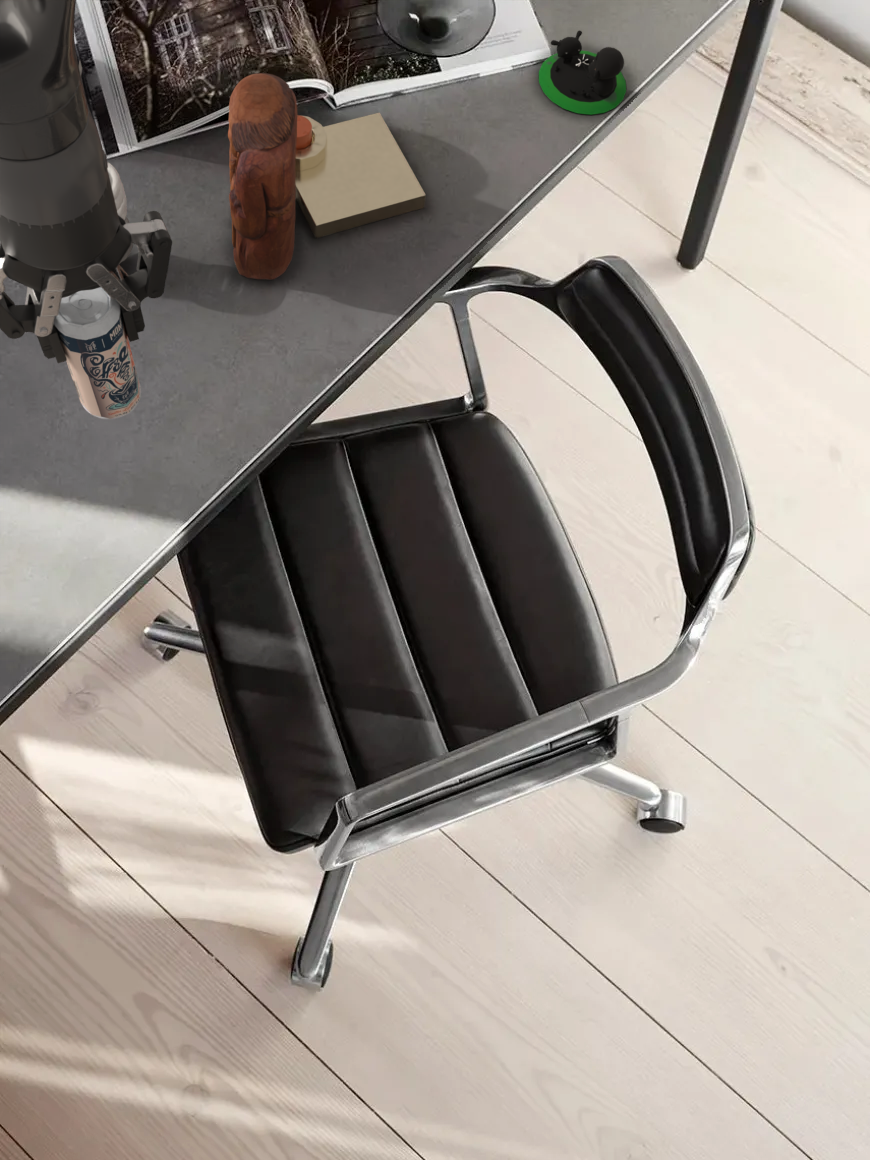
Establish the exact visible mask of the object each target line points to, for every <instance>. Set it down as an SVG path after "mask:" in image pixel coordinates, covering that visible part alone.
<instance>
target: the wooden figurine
mask: <svg viewBox="0 0 870 1160" xmlns="http://www.w3.org/2000/svg"><path fill="white" fill-rule="evenodd" d="M297 102H298V101H297V97H296V94H295V92H294V91H293V89H292V88H291V87H290V85H289V84H288V83H287V81H286V80H284V79H282V78H281V77H280V76H277V75H275V74H273V73H266V72H255V73H251V74H248V75H247V76H245V77H244V78H242V79H241V80H240V81H239V82H238V83H237V84H236V85H235V87H234V88H233V90H232V92H231V94H230V97H229V104H228V131H227V138H228V140H229V164H228V167H229V184H230V188H229V189H230V192H229V193H228V200H229V208H230V218H231V243H232V247H233V249H232V250H233V252H232V253H233V261H234V264H235V267H236V270H237V271H238V274H239V275H240V276H243V277H245V278H247V279H255V280H275V279H278V278H279V277H280V276H282V275H283V274H284V273H285V272H286V271H287V269H288V267H289V265H290V264H291V261H292V260H293V255H294V250H295V237H296V232H295V231H296V198H295V194H296V180H295V178H296V176H295V165H296V143H297V115H298V103H297Z"/></svg>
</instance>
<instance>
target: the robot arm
mask: <svg viewBox="0 0 870 1160" xmlns="http://www.w3.org/2000/svg"><path fill="white" fill-rule="evenodd" d="M76 4H77V0H0V330H1V332H3V334H5V335H6V336H7V338H9V339H12V340H15V339H20V338H22V337H23V336H24V335H25V333H32V334H34V335H35V336H36V337H37V341H38V343H39V346H40V348H41V351H42V354H43V356H44V357H45V358H46V359H47V360H50V359H54V358H55V360H56V363H57V364H60V363H64V362H66V361H67V359H66V356H65V353H64V351H63V348H62V345H61V342H60V339H59V336H58V333H57V331H56V328H55V325H54V319H55V316H58V314H59V309H60V304H61V299H62V298H64V297H68V296H70V295H73V294H75V293H77V292H79V291H84V290H93V289H96V288H100V287H101V288H102V289H103V290H104V291H105V292H106V293H107V294H108V295H109V296H110V297H111V298H112V299H113V300H115V299H116V300H117V301H118V302H119V305H120V311H121V314H122V318H123V322H124V326H125V330H126V334H127V337H128V340H129V343H132V342H135V341H138V340H140V337H139V333H141V332H144V331H145V327H146V325H145V320H144V315H143V311H142V307H141V305H142V303H143V301H144V300H145V299H146V298H149V299H158V298H161V297H162V296H163V295H164V292H165V288H166V282H167V276H168V270H169V264H170V259H171V251H172V246H173V240H172V238H171V235H170V233H169V231H168V228H167V226H166V224H165V221H164V219H163V217H162V215H161V212H159V211H157V210H151V211H148V212H147V213H145V214H144V216H143V218H142V221H139V222H138V221H137V222H129V223H126V222H125V221H124V219H123V218H121V217H120V216H119V215H118V213H117V208H116V204H115V200H114V195H113V191H112V187H111V182H110V178H109V174H108V170H107V168H108V163H109V161H108V158H107V154H106V153H105V150H104V149H103V148H104V147H103V143H102V140H101V137H100V133H99V130H98V127H97V125H96V122H95V120H94V117H93V115H92V113H91V110H90V108H89V104H88V101H87V96H86V91H85V87H84V83H83V79H82V73H83V67H82V63H81V62H82V61H81V60H79V62H78V57H77V51H76V43H75V20H76V19H75V17H76V16H75V15H76V6H77V5H76ZM131 243H133V245H135V246H136V248H137V251H138V254H137V262H136V271H135V272H132V273H131V274H128V273H127V271H125V269H124V268H123V267H122V266H121V265H120V264H121V263H122V262H121V260H122V258H123V257H124V255H125V254H126V252H127V251H128V249H129V247H130V245H131ZM120 262H121V263H120ZM119 263H120V264H119ZM7 278H8V279H10V280H11V281H14V282H16V283H18V284H20V285H23V286H24V287H26V295H25V303H24V304H15V302H14V301H13V300H12V299H11V298H10V296H9V295H8V294H7V293H6V292H5V290H6V287H5V286H6V285H5V284H4V281H5V280H6V279H7Z"/></svg>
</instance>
